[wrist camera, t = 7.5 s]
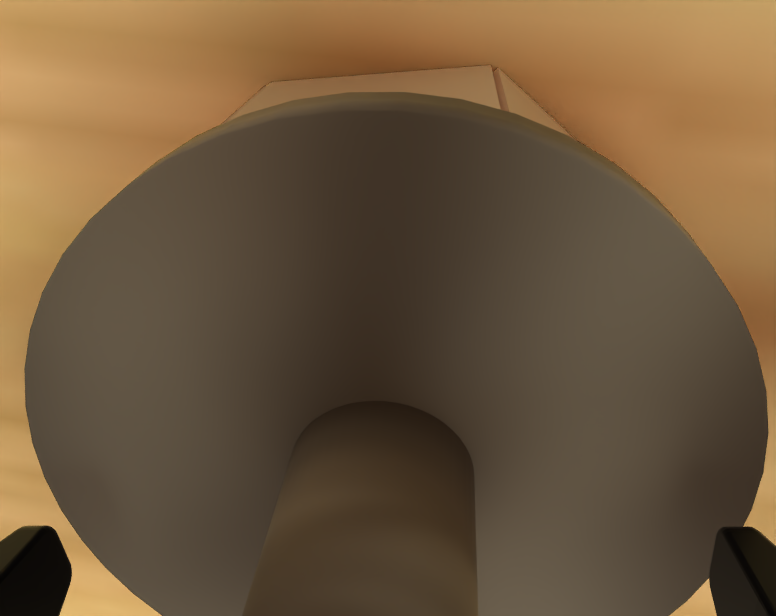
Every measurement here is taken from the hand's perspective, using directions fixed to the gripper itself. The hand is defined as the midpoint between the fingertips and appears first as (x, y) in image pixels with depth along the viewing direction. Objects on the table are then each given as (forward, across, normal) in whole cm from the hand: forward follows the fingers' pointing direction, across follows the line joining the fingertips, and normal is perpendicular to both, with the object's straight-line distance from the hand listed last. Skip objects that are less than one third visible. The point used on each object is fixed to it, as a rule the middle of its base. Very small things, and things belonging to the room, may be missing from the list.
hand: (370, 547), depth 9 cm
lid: (+2, 0, 0) cm, 2 cm away
